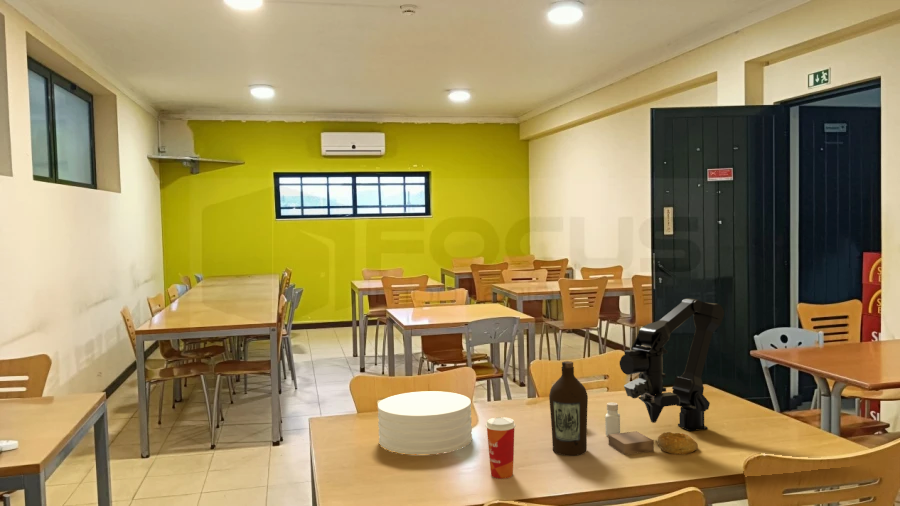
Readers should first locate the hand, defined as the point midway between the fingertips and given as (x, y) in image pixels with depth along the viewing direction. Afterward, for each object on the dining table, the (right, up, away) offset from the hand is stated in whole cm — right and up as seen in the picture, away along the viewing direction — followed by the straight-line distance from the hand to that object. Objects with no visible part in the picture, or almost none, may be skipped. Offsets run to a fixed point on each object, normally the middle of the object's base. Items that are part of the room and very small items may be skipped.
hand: (653, 422), depth 198 cm
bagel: (+4, -5, -11) cm, 12 cm away
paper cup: (-47, -7, -26) cm, 54 cm away
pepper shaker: (-11, -5, +3) cm, 13 cm away
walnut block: (-9, -5, -9) cm, 13 cm away
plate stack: (-67, -7, +5) cm, 68 cm away
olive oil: (-26, -6, -9) cm, 29 cm away
